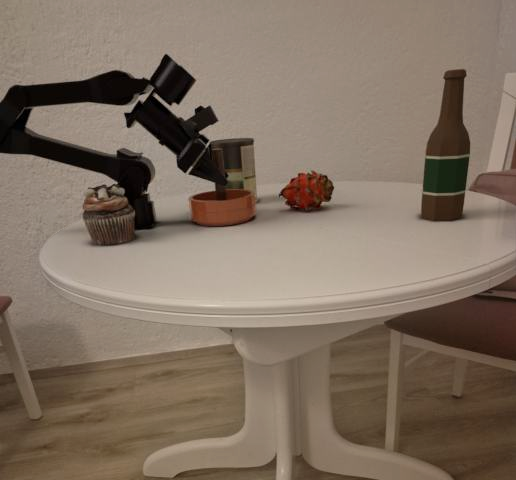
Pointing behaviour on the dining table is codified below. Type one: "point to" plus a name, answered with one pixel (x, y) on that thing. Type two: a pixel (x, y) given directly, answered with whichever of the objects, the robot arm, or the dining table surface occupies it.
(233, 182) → the coffee can
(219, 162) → the wooden peg on disc
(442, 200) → the beer bottle
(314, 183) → the dragon fruit
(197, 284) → the dining table surface
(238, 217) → the bowl
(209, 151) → the robot arm
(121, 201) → the cupcake
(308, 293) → the dining table surface
